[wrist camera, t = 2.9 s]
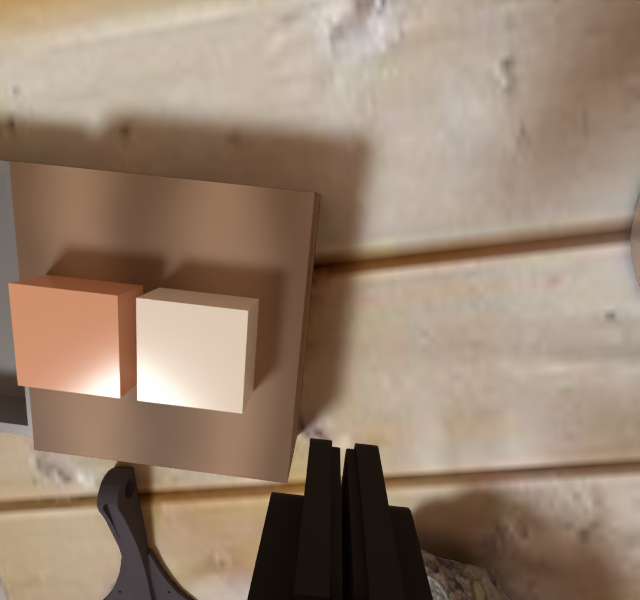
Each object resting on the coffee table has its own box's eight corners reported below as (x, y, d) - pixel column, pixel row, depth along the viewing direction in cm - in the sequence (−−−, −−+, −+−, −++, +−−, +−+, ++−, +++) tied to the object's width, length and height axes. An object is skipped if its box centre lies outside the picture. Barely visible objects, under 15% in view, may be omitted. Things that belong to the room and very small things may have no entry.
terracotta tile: (143, 285, 17) (117, 295, 15) (143, 378, 18) (120, 398, 16) (45, 274, 17) (8, 283, 16) (52, 366, 19) (17, 385, 17)
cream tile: (259, 298, 17) (248, 310, 15) (253, 391, 18) (242, 413, 16) (159, 287, 17) (135, 297, 15) (159, 379, 18) (137, 400, 16)
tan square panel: (320, 195, 20) (314, 192, 16) (296, 436, 23) (287, 483, 19) (73, 169, 20) (8, 160, 16) (85, 409, 24) (34, 449, 20)
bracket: (238, 457, 25) (224, 489, 22) (258, 638, 28) (249, 684, 25) (25, 458, 26) (-13, 488, 23) (70, 631, 29) (41, 675, 26)
